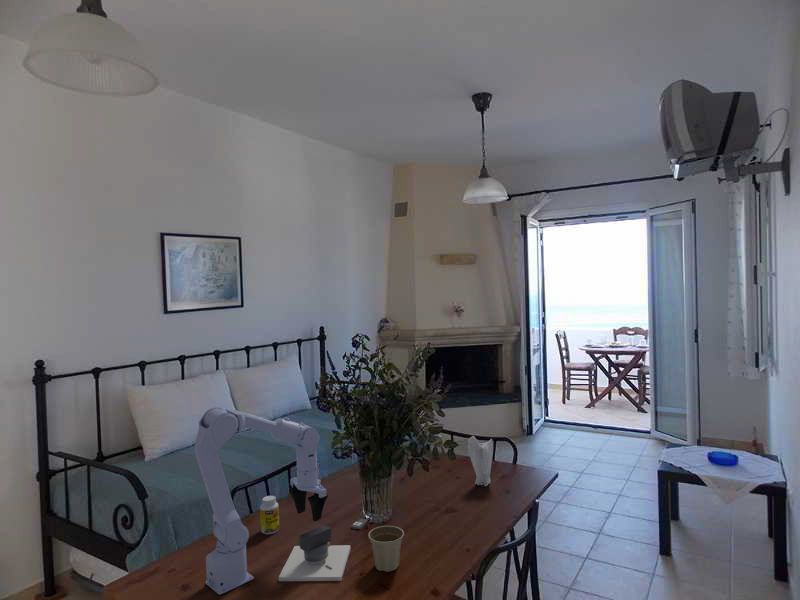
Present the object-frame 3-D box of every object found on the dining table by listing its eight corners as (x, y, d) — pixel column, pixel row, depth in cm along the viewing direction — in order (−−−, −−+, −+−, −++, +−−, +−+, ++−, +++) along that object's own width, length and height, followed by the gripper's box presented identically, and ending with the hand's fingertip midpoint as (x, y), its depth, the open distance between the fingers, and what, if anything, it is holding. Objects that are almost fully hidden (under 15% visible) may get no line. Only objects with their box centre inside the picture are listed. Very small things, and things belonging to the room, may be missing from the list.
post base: (341, 580, 129) (340, 572, 129) (278, 581, 130) (278, 573, 130) (350, 548, 145) (350, 541, 145) (294, 549, 146) (294, 542, 146)
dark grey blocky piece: (310, 565, 132) (309, 541, 132) (296, 557, 137) (295, 533, 137) (336, 553, 138) (335, 529, 138) (322, 545, 143) (321, 522, 143)
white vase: (497, 482, 190) (495, 434, 190) (488, 490, 183) (487, 440, 183) (476, 478, 195) (475, 431, 195) (467, 486, 188) (465, 437, 188)
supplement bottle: (264, 537, 154) (262, 503, 154) (258, 530, 159) (257, 497, 159) (282, 531, 157) (280, 498, 157) (275, 525, 162) (274, 493, 162)
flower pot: (385, 553, 142) (384, 522, 142) (412, 563, 136) (411, 531, 136) (362, 568, 135) (360, 535, 135) (389, 579, 129) (387, 545, 129)
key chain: (360, 532, 156) (359, 527, 156) (349, 529, 158) (349, 525, 158) (380, 514, 168) (380, 510, 168) (370, 512, 170) (370, 508, 170)
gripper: (334, 469, 142) (336, 518, 143) (303, 459, 152) (305, 504, 153) (313, 477, 137) (315, 527, 138) (283, 465, 147) (285, 512, 148)
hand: (309, 516), depth 145 cm, fingers open, 7 cm apart
